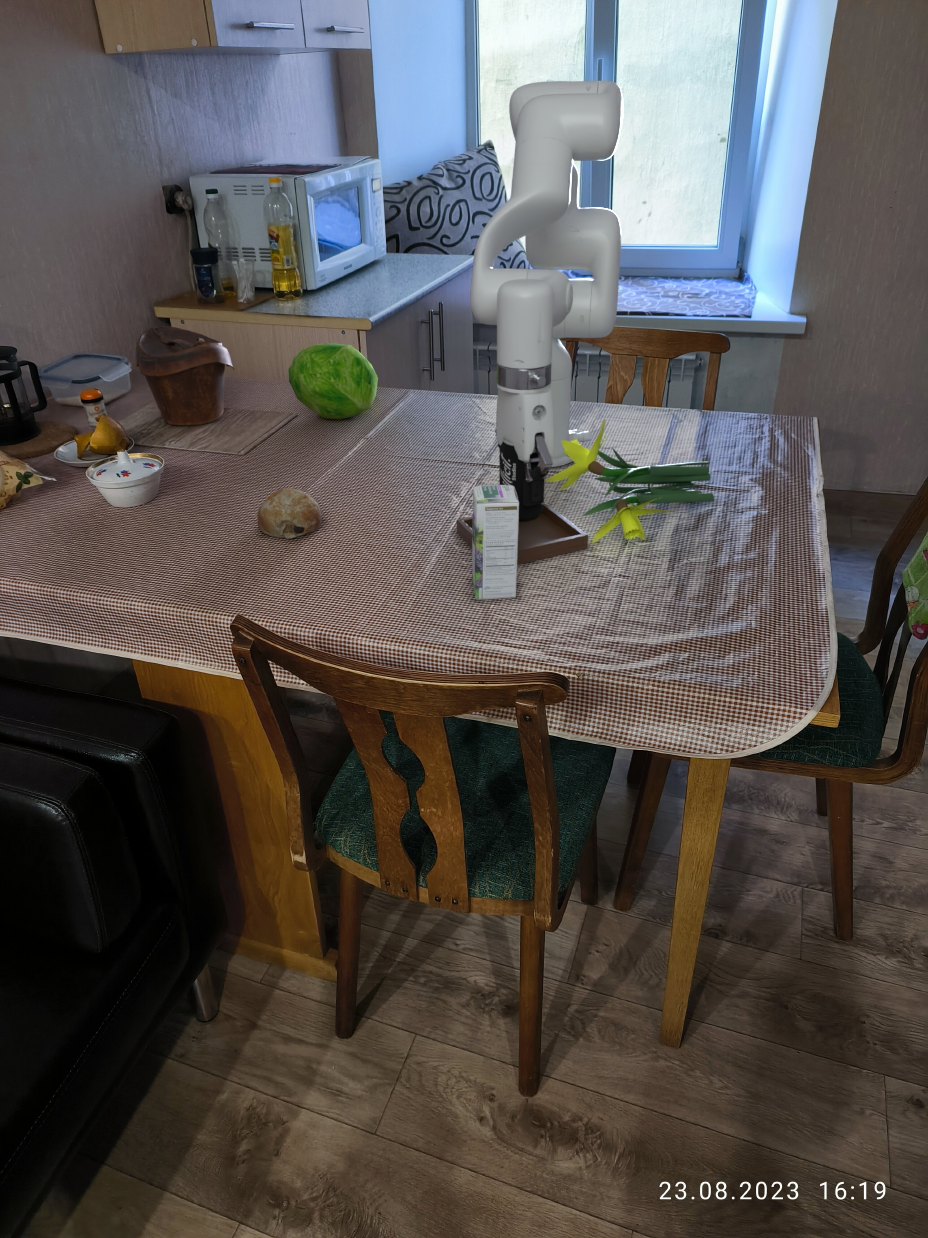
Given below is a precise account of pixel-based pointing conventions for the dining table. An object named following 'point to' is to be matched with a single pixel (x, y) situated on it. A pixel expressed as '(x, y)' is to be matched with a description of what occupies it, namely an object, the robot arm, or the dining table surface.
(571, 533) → the tray
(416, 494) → the dining table surface
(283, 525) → the bread roll
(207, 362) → the brown tapered bucket shape
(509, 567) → the syrup box
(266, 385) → the dining table surface
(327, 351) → the lettuce
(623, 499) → the daffodil flowers
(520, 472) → the beverage can
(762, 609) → the dining table surface
